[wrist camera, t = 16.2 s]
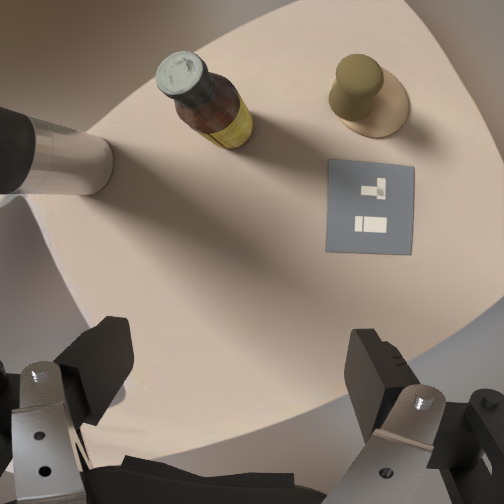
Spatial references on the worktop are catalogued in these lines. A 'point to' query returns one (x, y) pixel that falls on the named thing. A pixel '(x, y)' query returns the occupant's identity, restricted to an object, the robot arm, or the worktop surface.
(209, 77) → the sauce bottle
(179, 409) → the worktop surface
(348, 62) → the pepper shaker
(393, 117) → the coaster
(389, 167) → the tile
